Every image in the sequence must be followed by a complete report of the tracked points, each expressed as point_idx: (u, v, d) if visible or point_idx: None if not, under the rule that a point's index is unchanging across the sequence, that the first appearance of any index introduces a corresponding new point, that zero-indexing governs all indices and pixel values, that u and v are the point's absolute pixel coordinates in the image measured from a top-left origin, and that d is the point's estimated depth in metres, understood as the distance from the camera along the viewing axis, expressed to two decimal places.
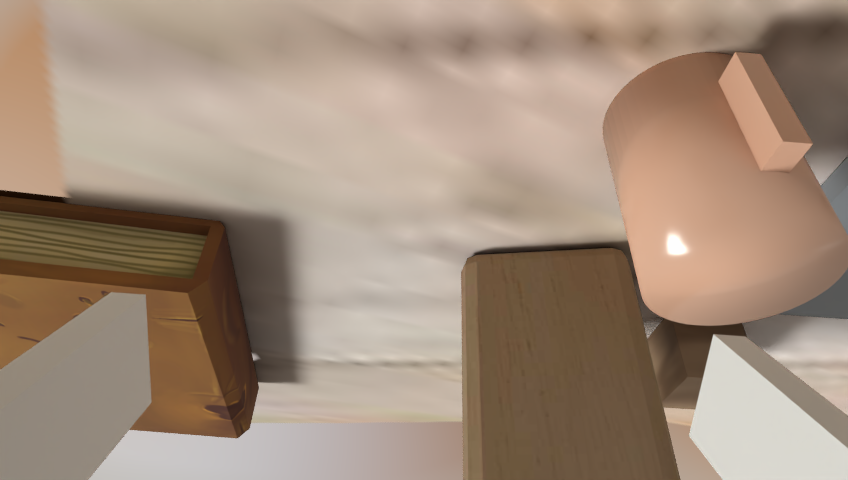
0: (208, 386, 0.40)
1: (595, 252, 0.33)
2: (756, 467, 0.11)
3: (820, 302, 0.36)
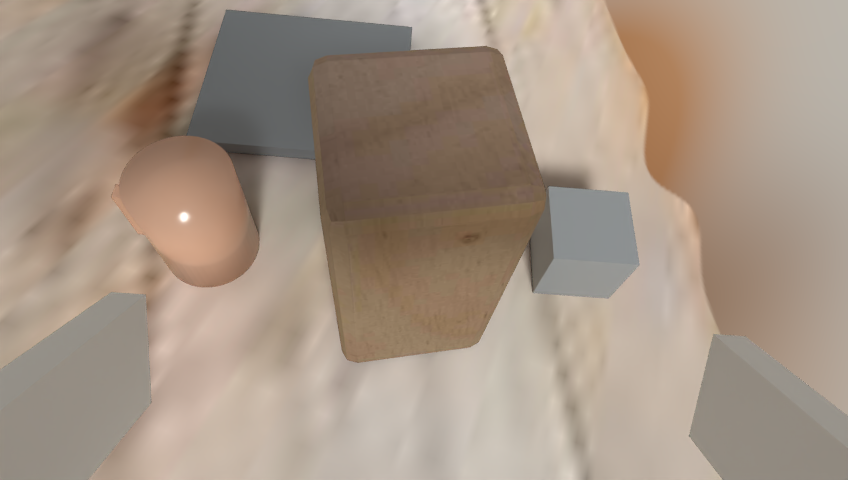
0: None
1: None
2: (757, 467, 0.11)
3: None
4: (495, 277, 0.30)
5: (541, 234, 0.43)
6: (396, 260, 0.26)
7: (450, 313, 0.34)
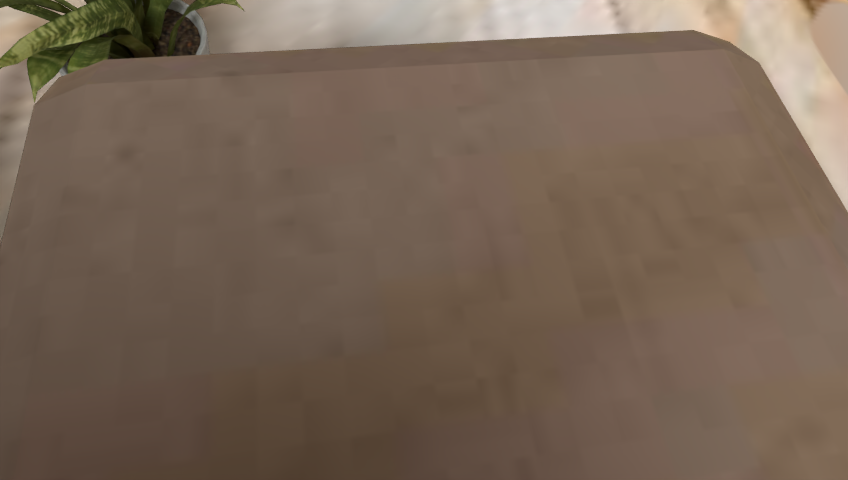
0: None
1: None
2: None
3: None
4: None
5: None
6: None
7: None
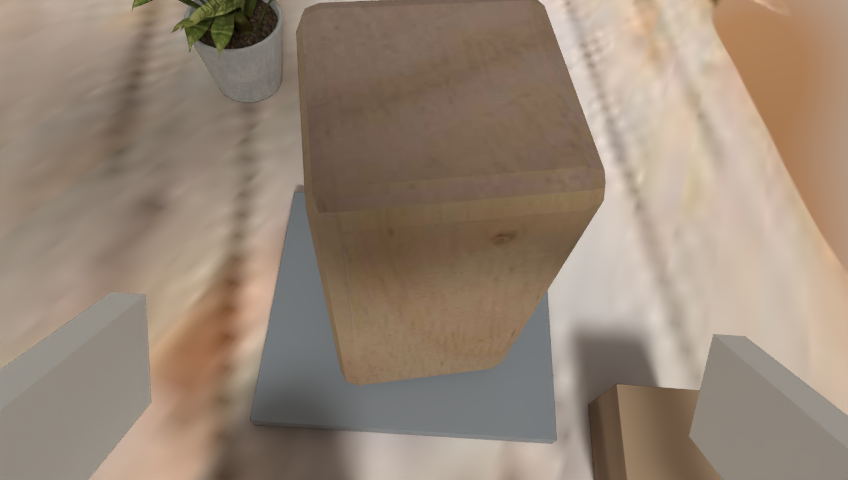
0: None
1: None
2: (757, 468, 0.11)
3: (526, 352, 0.36)
4: (530, 288, 0.24)
5: None
6: (406, 265, 0.20)
7: (470, 331, 0.28)
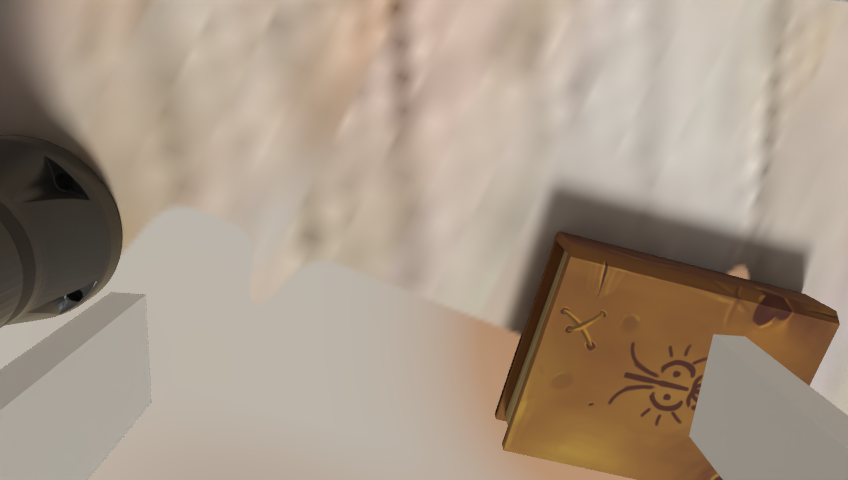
0: (713, 302, 0.45)
1: None
2: (757, 468, 0.11)
3: None
4: None
5: None
6: None
7: None
